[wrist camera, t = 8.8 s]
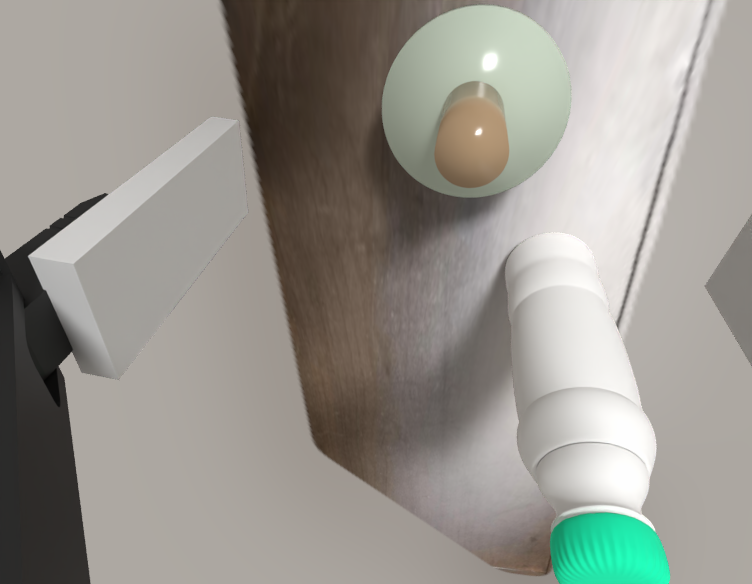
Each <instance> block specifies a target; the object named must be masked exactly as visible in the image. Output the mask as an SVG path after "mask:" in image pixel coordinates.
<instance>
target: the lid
mask: <svg viewBox="0 0 752 584" xmlns="http://www.w3.org/2000/svg"><path fill="white" fill-rule="evenodd" d="M570 108H571V83H570V76H569V72H568V69H567V65H566V62H565V60H564V58H563V56H562V54H561V52H560V50H559V48H558V46H557V45H556V43H555V42H554V41H553V39H552V38H551V36H550V35H549V34H548V33H547V32H546V31H545V30H544V28H543V27H542V26H541V25H539V24H538V23H537V22H535V21H534V20H533V19H532V18H530V17H528V16H526V15H525V14H523V13H521V12H519V11H516V10H513V9H511V8H508V7H504V6H499V5H492V4H476V5H467V6H463V7H459V8H455V9H452V10H450V11H447V12H445V13H443V14H440V15H439V16H437V17H435V18H434V19H432V20H430V21H429V22H427V23H426V24H425V25H423V26H422V27H421V28H420V29H418V30H417V31H416V32H415V33H414V34H413V35H412V37H411V38H410V39H409V40H408V41H407V42H406V44H405V45H404V46H403V48H402V49H401V50H400V52H399V54H398V55H397V57H396V59H395V61H394V62H393V64H392V66H391V69H390V71H389V73H388V76H387V79H386V83H385V86H384V91H383V98H382V120H383V127H384V131H385V135H386V138H387V141H388V144H389V146H390V148H391V150H392V152H393V154H394V156H395V157H396V159H397V160H398V162H399V163H400V165H401V166H402V167H403V168H404V169H405V170H406V171H407V172H408V174H410V175H411V176H412V177H413V178H414V179H416V180H417V181H418V182H420V183H421V184H423V185H424V186H426V187H428V188H430V189H432V190H434V191H437V192H440V193H443V194H446V195H450V196H455V197H465V198H473V197H484V196H490V195H494V194H497V193H501V192H503V191H506V190H508V189H511V188H513V187H515V186H517V185H518V184H520V183H522V182H523V181H525V180H526V179H528V178H529V177H531V176H532V175H533V174H534V173H535V172H536V171H538V170H539V169H540V168H541V167H542V166H543V165H544V164H545V162H546V161H547V160H548V159H549V158H550V156H551V155H552V154H553V152H554V151H555V149H556V148H557V146H558V144H559V142H560V140H561V138H562V136H563V134H564V131H565V129H566V126H567V122H568V118H569V115H570Z"/></svg>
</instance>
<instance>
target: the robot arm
mask: <svg viewBox="0 0 752 584" xmlns="http://www.w3.org/2000/svg"><path fill="white" fill-rule="evenodd" d="M247 213H248V205H247V194H246V184H245V174H244V164H243V154H242V145H241V134H240V125H239V120H234V119H227V118H220V117H213V116H211V117H210V118H208V119H207V120H206V121H204V122H203V123H202V124H200V125H199V126H198V127H197V128H195V129H194V130H193V131H191V132H190V133H189V134H187V135H186V136H185V137H183V138H182V139H181V140H180V141H178V142H177V143H175V144H174V145H173V146H172V147H170V148H169V149H168V150H167V151H165V152H164V153H162V154H161V155H160V156H159V157H157V158H156V159H155V160H153V161H152V162H151V163H149V164H148V165H147V166H145V167H144V168H143V169H142V170H140V171H139V172H137V173H136V174H135V175H134V176H132V177H131V178H130V179H129V180H127V181H126V182H124V183H123V184H122V185H120V186H119V187H118V188H117V189H115V190H114V191H113V192H111V193H110V194H106V193H104V194H102V195H99V196H97V197H95V198H92V199H90V200H87V201H85V202H82V203H80V204H79V205H78V206H76V207H75V208H73V209H72V210H71V211H69V212H68V213H67V214H65V215H64V218H60V219H59V220H57V221H56V222H54V223H53V224H52V225H50V229H45V230H43V231H42V232H41V233H39V234H38V235H37V236H35V237H34V238H32V239H31V240H30V241H28V242H27V243H26V244H24V245H23V246H22V247H20V248H19V249H17V250H16V251H15V252H13V253H12V254H11V255H9V256H8V257H6V258H5V259H4V257H3V255H2V253H1V251H0V584H90V577H89V568H88V561H87V553H86V545H85V537H84V530H83V522H82V513H81V505H80V498H79V490H78V483H77V474H76V467H75V458H74V451H73V444H72V435H71V427H70V420H69V412H68V404H67V396H66V388H65V380H64V376H63V374H62V372H61V370H60V368H59V365H60V364H61V363H62V361H63V360H64V359H65V358H66V357H67V356H68V355H69V354H70V353H71V352H72V353H73V355H74V357H75V359H76V361H77V363H78V365H79V368H80V370H81V372H82V373H87V374H92V375H97V376H102V377H107V378H112V379H117V380H119V379H120V377H121V376H122V375H123V374H124V373H125V371H126V370H127V369H128V367H129V366H130V365H131V363H132V362H133V361H134V360H135V358H136V357H137V356H138V354H139V353H140V352H141V350H142V349H143V348H144V347H145V345H146V344H147V343H148V341H149V340H150V339H151V337H152V336H153V335H154V334H155V332H156V331H157V330H158V329H159V327H160V326H161V325H162V323H163V322H164V321H165V319H166V318H167V317H168V315H169V314H170V313H171V312H172V310H173V309H174V308H175V306H176V305H177V304H178V303H179V301H180V300H181V299H182V297H183V296H184V295H185V294H186V292H187V291H188V290H189V288H190V287H191V286H192V284H193V283H194V282H195V281H196V279H197V278H198V277H199V275H200V274H201V273H202V272H203V270H204V269H205V268H206V266H207V265H208V264H209V263H210V261H211V260H212V259H213V257H214V256H215V255H216V253H217V252H218V251H219V249H220V248H221V247H222V246H223V244H224V243H225V242H226V241H227V239H228V238H229V237H230V235H231V234H232V233H233V231H234V230H235V229H236V228H237V226H238V225H239V224H240V222H241V221H242V219H244V217H245V216H246V215H247ZM705 288H706V289H707V291H708V293H709V294H710V296H711V298H712V299H713V301H714V303H715V305H716V306H717V308H718V310H719V311H720V313H721V315H722V316H723V318H724V320H725V321H726V323H727V325H728V327H729V328H730V330H731V332H732V333H733V335H734V337H735V339H736V340H737V342H738V343H739V345H740V347H741V349H742V350H743V352H744V353H745V355H746V357H747V359H748V361H749V362H750V364H751V366H752V215H751V216H750V218H749V219H748V221H747V222H746V224H745V225H744V227H743V228H742V230H741V232H740V233H739V235H738V236H737V238H736V239H735V241H734V242H733V244H732V245H731V247H730V248H729V250H728V251H727V253H726V254H725V256H724V257H723V259H722V260H721V262H720V264H719V265H718V266H717V268H716V270H715V271H714V273H713V274H712V276H711V277H710V279H709V280H708V282H707V283H706V285H705Z"/></svg>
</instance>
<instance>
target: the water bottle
mask: <svg viewBox="0 0 752 584" xmlns="http://www.w3.org/2000/svg"><path fill="white" fill-rule="evenodd" d="M505 282H506V288H507V293H508V316H509V321H510V324H511V327H512V328H511V360H512V375H513V386H514V395H515V402H516V408H517V414H518V419H519V424H518V428H517V445H518V450H519V453H520V456H521V459H522V461H523V463H524V465H525V466H526V468H527V470H528V471H529V473H530V474H531V476H532V477H533V479H534V480H535V481H536V483H537V484H538V487H539V489H540V491H541V493H542V495H543V496H544V498H545V499H546V500H547V502H548V503H549V504H550V505H551V506H552V507H553V508H554V510H555V512H556V516H557V517H556V518H555V519H554V521H553V522H552V525H551V538H550V550H551V559H552V565H553V570H554V572H555V576H556V578H557V580H558V582H559V583H560V584H669V581H670V570H669V565H668V561H667V558H666V554H665V551H664V549H663V546H662V543H661V541H660V539H659V537H658V535H657V534H656V532H655V529H654V527H653V525H652V523H651V522H650V521H649V520H648V519H647V518H646V517H645V516H643V515H642V513H641V507H642V505H643V503H644V500H645V498H646V496H647V493H648V490H649V478H650V475H651V472H652V469H653V465H654V462H655V457H656V438H655V434H654V430H653V428H652V425H651V423H650V421H649V419H648V417H647V416H646V415H645V413H644V412H643V410H642V405H641V400H640V396H639V392H638V388H637V384H636V380H635V377H634V374H633V371H632V367H631V364H630V361H629V358H628V356H627V352H626V350H625V347H624V344H623V341H622V339H621V336H620V333H619V331H618V328H617V326H616V324H615V322H614V319H613V317H612V315H611V313H610V308H609V301H608V297H607V294H606V291H605V288H604V286H603V284H602V282H601V281H600V277H599V271H598V267H597V264H596V261H595V258H594V255H593V253H592V251H591V250H590V248H589V247H588V246H587V245H586V244H585V243H584V242H583V241H581V240H580V239H578V238H576V237H574V236H572V235H569V234H565V233H559V232H549V233H542V234H538V235H535V236H532V237H530V238H528V239H526V240H525V241H523V242H522V243H520V244H519V245H518V246H517V247H516V248H515V249H514V250H513V251H512V253H511V254H510V256H509V258H508V260H507V263H506V267H505Z"/></svg>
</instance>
